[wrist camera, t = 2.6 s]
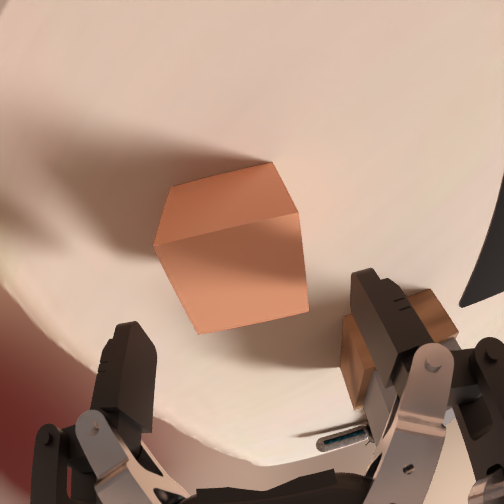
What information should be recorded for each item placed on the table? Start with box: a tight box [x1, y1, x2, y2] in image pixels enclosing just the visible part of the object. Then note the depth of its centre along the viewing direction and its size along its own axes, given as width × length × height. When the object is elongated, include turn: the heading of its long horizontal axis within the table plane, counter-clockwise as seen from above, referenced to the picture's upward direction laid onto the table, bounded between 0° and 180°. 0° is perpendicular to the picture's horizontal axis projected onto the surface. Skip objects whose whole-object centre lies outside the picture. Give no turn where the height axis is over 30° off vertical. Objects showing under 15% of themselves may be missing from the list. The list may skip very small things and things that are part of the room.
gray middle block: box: [363, 337, 461, 448], centre depth 17 cm, size 7×7×5 cm
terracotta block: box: [153, 162, 309, 335], centre depth 13 cm, size 5×5×5 cm
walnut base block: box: [340, 289, 459, 410], centre depth 21 cm, size 8×8×5 cm
